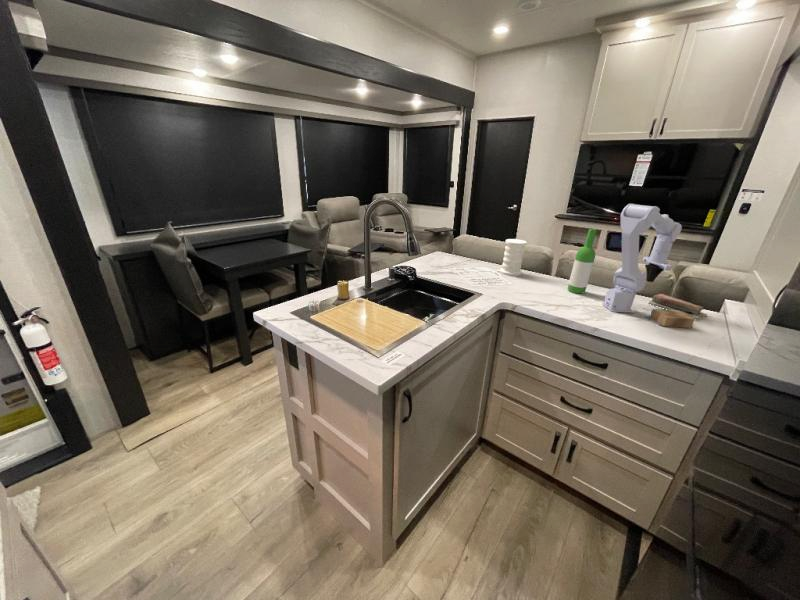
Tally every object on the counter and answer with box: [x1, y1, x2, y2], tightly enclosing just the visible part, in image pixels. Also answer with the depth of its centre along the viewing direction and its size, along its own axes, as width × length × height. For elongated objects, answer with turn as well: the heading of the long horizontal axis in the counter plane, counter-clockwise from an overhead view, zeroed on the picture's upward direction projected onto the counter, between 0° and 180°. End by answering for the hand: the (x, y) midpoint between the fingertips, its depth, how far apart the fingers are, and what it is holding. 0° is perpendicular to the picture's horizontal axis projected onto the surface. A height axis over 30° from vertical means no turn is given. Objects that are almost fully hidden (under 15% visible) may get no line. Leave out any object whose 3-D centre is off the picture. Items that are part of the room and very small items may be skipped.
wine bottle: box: [567, 228, 597, 295], centre depth 145 cm, size 8×8×30 cm
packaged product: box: [647, 293, 709, 321], centre depth 134 cm, size 18×5×10 cm
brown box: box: [649, 308, 696, 329], centre depth 121 cm, size 10×4×8 cm
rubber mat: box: [646, 315, 664, 327], centre depth 123 cm, size 12×8×1 cm, turn 86°
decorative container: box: [499, 238, 528, 277], centre depth 172 cm, size 12×12×18 cm
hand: (649, 281), depth 136 cm, fingers closed
